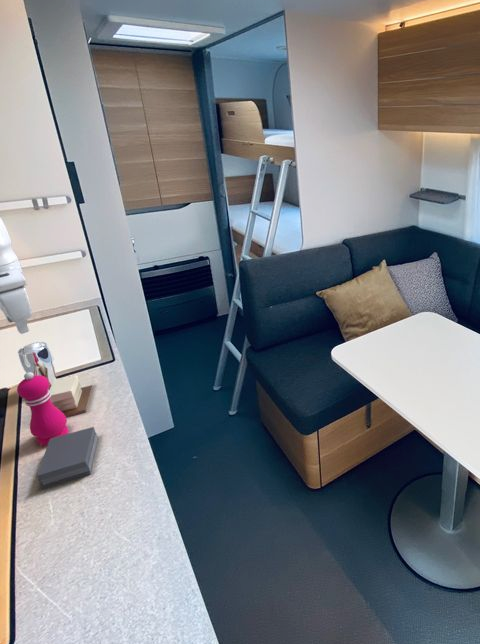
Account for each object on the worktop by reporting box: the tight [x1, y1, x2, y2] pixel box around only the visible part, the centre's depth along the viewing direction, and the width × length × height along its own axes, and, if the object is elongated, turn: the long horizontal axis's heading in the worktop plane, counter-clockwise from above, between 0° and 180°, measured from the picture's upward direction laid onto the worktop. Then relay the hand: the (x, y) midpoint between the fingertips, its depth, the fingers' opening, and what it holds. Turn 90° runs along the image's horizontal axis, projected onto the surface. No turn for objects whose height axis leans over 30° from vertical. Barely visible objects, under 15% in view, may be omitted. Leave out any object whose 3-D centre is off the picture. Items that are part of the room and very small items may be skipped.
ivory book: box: [49, 374, 80, 402], centre depth 113 cm, size 6×8×2 cm
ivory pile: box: [52, 381, 94, 418], centre depth 114 cm, size 10×12×5 cm
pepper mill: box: [16, 372, 69, 446], centre depth 100 cm, size 7×7×20 cm
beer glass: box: [17, 341, 58, 390], centre depth 119 cm, size 7×7×15 cm
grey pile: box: [36, 426, 99, 490], centre depth 96 cm, size 9×12×4 cm
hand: (18, 326), depth 101 cm, fingers open, 8 cm apart
